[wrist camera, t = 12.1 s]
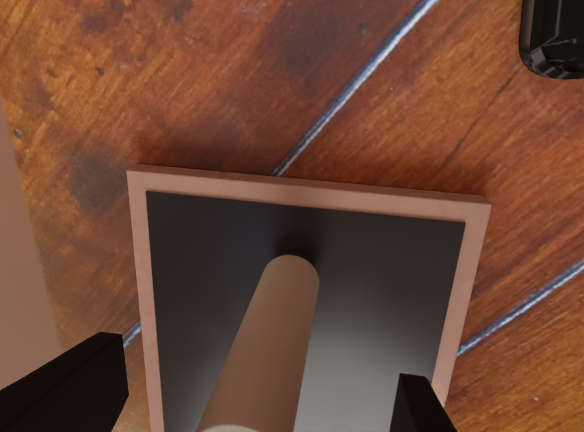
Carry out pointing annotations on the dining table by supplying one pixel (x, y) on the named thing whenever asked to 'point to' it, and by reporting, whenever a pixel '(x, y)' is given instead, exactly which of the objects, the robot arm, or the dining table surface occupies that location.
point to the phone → (553, 38)
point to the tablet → (331, 294)
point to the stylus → (267, 353)
